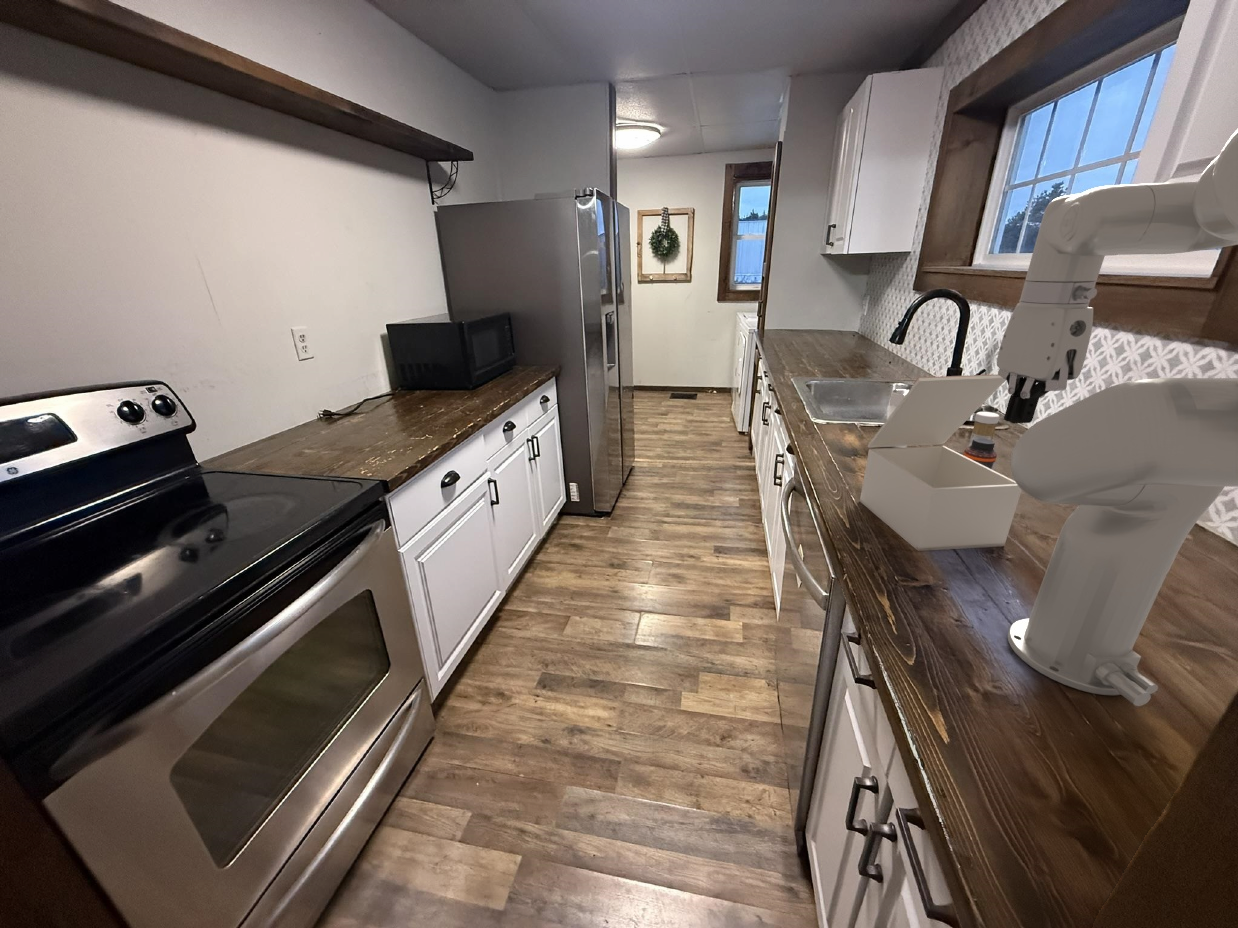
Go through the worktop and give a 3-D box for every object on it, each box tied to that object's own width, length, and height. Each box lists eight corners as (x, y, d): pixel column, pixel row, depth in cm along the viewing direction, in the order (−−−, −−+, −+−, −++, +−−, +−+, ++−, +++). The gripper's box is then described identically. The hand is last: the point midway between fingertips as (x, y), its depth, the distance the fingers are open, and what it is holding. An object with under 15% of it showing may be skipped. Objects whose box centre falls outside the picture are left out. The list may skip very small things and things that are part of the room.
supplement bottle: (956, 490, 110) (968, 442, 106) (953, 480, 115) (965, 434, 111) (988, 495, 107) (1002, 446, 103) (984, 484, 112) (998, 437, 108)
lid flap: (1008, 377, 86) (1006, 374, 86) (920, 381, 85) (918, 377, 85) (942, 444, 103) (941, 441, 103) (868, 447, 102) (867, 444, 102)
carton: (1004, 546, 88) (1023, 485, 84) (918, 550, 87) (932, 489, 83) (931, 497, 107) (943, 445, 102) (859, 501, 106) (869, 449, 101)
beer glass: (875, 442, 140) (885, 390, 134) (892, 439, 142) (903, 387, 137) (898, 450, 134) (909, 396, 128) (915, 446, 136) (926, 393, 131)
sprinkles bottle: (988, 466, 122) (1003, 414, 117) (980, 470, 120) (994, 417, 115) (968, 460, 126) (981, 409, 121) (959, 464, 123) (973, 413, 118)
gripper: (1136, 298, 62) (1086, 436, 69) (1035, 291, 75) (1002, 407, 82) (1079, 300, 61) (1035, 439, 68) (988, 292, 75) (959, 409, 82)
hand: (1017, 421), depth 75 cm, fingers closed
